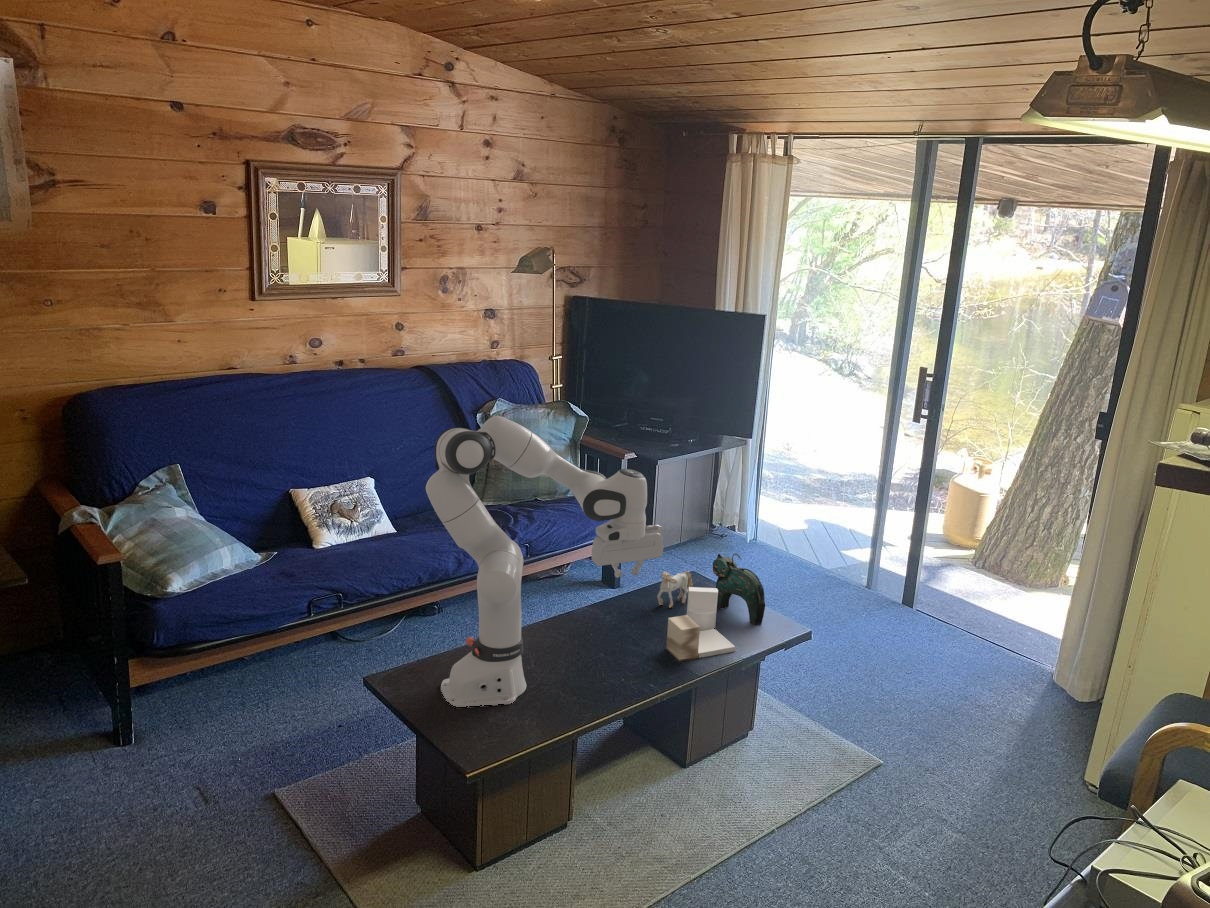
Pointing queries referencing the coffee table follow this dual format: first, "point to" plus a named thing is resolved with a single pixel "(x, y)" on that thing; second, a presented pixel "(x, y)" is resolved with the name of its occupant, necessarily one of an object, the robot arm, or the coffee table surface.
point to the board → (713, 643)
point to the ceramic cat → (739, 587)
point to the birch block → (683, 638)
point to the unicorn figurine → (674, 585)
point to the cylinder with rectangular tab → (702, 606)
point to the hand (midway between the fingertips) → (626, 575)
